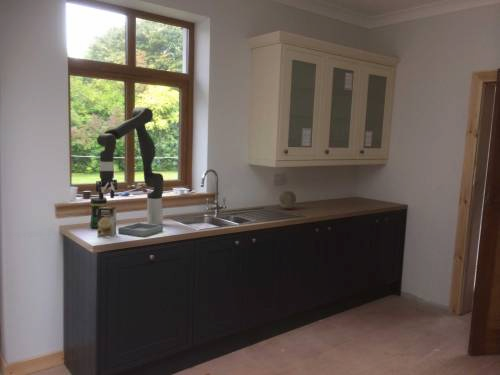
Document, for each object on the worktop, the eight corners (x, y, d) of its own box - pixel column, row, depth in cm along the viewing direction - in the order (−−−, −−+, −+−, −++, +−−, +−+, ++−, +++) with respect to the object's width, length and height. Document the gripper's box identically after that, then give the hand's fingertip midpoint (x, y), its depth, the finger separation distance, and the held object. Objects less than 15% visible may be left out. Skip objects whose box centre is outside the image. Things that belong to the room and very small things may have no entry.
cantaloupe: (298, 210, 354) (299, 192, 352) (281, 210, 351) (282, 192, 349) (292, 207, 367) (293, 190, 366) (277, 207, 364) (277, 190, 363)
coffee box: (96, 236, 239) (96, 208, 238) (100, 234, 246) (100, 206, 244) (113, 237, 240) (113, 208, 238) (116, 234, 246) (116, 206, 244)
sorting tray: (138, 228, 265) (138, 222, 264) (162, 231, 257) (162, 225, 257) (118, 233, 248) (118, 227, 248) (143, 237, 241) (143, 231, 241)
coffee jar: (92, 229, 258) (91, 198, 257) (89, 226, 265) (88, 196, 263) (108, 227, 264) (108, 197, 262) (105, 225, 270) (105, 196, 268)
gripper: (110, 168, 247) (110, 197, 248) (92, 170, 234) (92, 199, 236) (120, 169, 244) (120, 198, 245) (102, 170, 231) (102, 200, 233)
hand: (106, 198), depth 241 cm, fingers open, 8 cm apart
